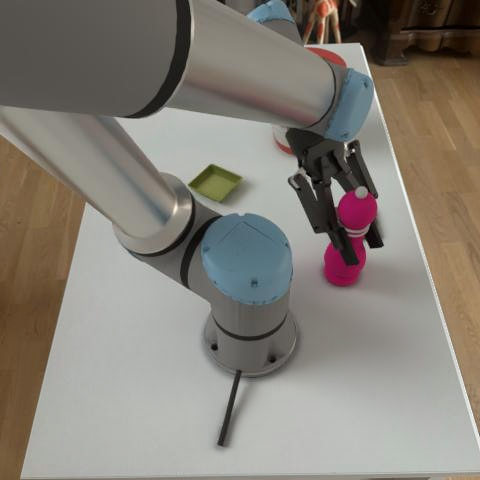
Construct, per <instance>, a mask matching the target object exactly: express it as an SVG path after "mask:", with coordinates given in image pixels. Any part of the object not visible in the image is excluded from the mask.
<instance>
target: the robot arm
mask: <svg viewBox="0 0 480 480" xmlns="http://www.w3.org/2000/svg"><path fill="white" fill-rule="evenodd" d="M295 21H296V20H294V18H293V16H292V14H291V12H290V11H289V8H288V6H287V4H286V3H285V2H284V1H283V0H271V1H269V2H267V3H266V4H262V5H260V6H259V7H257V8H256V9H254V8H253V10H251V11H250V12H249V13H248V14H246V15H244V14H243V13H241V12H239V11H237V10H236V9H233V8H231V7H230V6H227V5H226V4H223V3H222V2H220V1H219V0H0V135H1V136H2V137H3V138H4V139H6V140H7V141H8V142H9V143H11V145H13V146H15V147H16V148H17V149H18V150H20V151H21V152H22V153H23V154H25V155H26V156H27V157H28V158H30V159H31V160H32V161H33V162H35V163H36V164H37V165H39V166H40V168H42V169H43V170H45V171H46V172H48V173H49V174H50V175H52V177H54V178H55V179H56V180H57V181H59V182H61V184H63V185H64V186H65V187H66V188H68V189H69V190H70V191H72V192H73V193H74V194H76V195H77V196H78V197H79V198H81V200H83V201H84V202H86V203H87V204H88V205H89V206H90V207H92V208H93V209H95V210H96V211H97V212H98V213H99V214H100V215H102V216H103V217H104V218H106V219H107V220H108V221H110V222H111V225H112V231H113V233H114V235H115V238H116V240H117V241H118V243H119V245H120V246H121V247H122V248H123V249H124V250H125V251H127V253H128V254H129V255H131V257H133V258H134V259H136V260H138V261H140V262H143V263H145V264H147V265H148V266H149V267H152V268H153V269H155V270H156V271H158V272H159V273H161V274H163V275H165V276H166V277H168V278H169V279H171V280H173V281H174V282H176V283H178V284H179V285H181V286H182V287H184V288H186V289H187V290H189V291H190V292H192V293H194V294H195V295H197V296H199V297H201V298H202V299H204V300H205V301H206V302H208V304H210V308H211V309H210V313H209V314H208V317H207V318H206V319H207V320H206V322H205V324H204V341H205V346H206V350H207V352H208V354H209V356H210V358H211V359H212V361H213V362H214V363H215V364H216V365H217V366H218V367H219V368H220V369H222V370H224V371H225V372H227V373H229V374H230V375H234V378H233V382H232V387H231V391H230V393H229V398H228V402H227V406H226V410H225V415H224V418H223V422H222V426H221V429H220V434H219V436H218V439H217V444H216V445H217V446H219V447H223V446H224V444H225V440H226V437H227V433H228V429H229V425H230V421H231V417H232V414H233V410H234V406H235V401H236V396H237V393H238V389H239V385H240V380H241V378H258V377H264V376H267V375H269V374H272V373H274V372H275V371H278V370H279V369H281V368H282V366H284V365H285V364H286V363H287V362H288V361H289V359H290V358H291V356H292V354H293V352H294V350H295V346H296V341H297V333H298V331H299V330H298V328H297V327H298V326H297V323H296V318H295V316H294V315H292V313H291V311H290V309H289V302H290V294H291V285H292V284H291V283H292V281H293V276H294V263H293V252H292V247H291V243H290V241H289V239H288V237H287V236H286V234H285V233H284V231H283V230H282V229H281V228H280V227H279V226H278V225H277V224H276V223H275V222H273V221H272V220H270V219H268V218H266V217H264V216H262V215H259V214H256V213H251V212H244V214H243V215H240V214H239V213H238V212H234V213H233V212H232V213H229V214H226V215H223V214H221V213H219V212H217V211H215V210H213V209H212V208H210V207H207V205H204V204H203V203H201V202H200V201H199V200H198V199H197V198H196V196H194V194H193V193H192V191H191V190H190V188H189V187H188V186H186V184H185V183H184V182H183V181H182V179H180V178H179V177H177V176H176V175H173V174H171V173H168V172H163V171H160V170H159V169H158V168H157V167H156V166H155V165H154V163H153V162H152V161H151V159H149V157H148V156H147V155H146V154H145V152H144V151H143V150H142V149H141V147H140V146H139V145H138V144H137V143H136V142H135V140H134V139H133V137H131V135H130V134H129V133H128V132H127V131H126V129H125V128H124V127H123V126H122V125H121V123H120V122H119V121H118V119H117V118H120V119H130V120H131V119H132V120H139V119H147V118H149V117H152V116H154V115H156V114H157V113H160V112H161V111H163V109H165V108H167V109H173V110H181V111H188V112H194V113H200V114H206V115H212V116H220V117H225V118H230V119H231V118H232V119H238V120H244V121H251V122H258V123H262V124H263V123H264V124H270V125H271V124H276V125H280V127H281V128H282V129H284V128H286V130H287V132H286V133H285V134H286V135H285V137H286V140H287V142H288V144H289V146H290V148H291V151H292V153H293V154H294V156H295V157H296V159H297V168H298V169H297V170H296V171H295V172H294V174H293V175H291V176H289V177H288V178H287V183H288V185H289V186H290V187H291V188H292V189H293V191H295V193H296V195H297V197H298V200H299V202H300V204H301V206H302V209H303V211H304V213H305V215H306V217H307V220H308V222H309V224H310V226H311V229H312V230H313V233H314V234H316V235H319V234H326V235H327V237H328V238H329V240H330V242H331V243H332V245H333V247H334V249H335V250H339V251H340V254H341V256H342V258H343V260H344V262H345V265H346V266H354V265H358V264H359V263H360V262H359V260H358V257H357V255H356V253H355V250H354V248H353V246H352V244H351V241H350V239H349V237H348V235H347V232H346V230H345V228H344V227H339V225H338V220H337V215H336V211H335V207H336V206H335V202H334V197H333V191H332V188H331V187H332V179H333V180H335V181H336V182H337V183H338V184H339V186H340V187H341V189H342V190H343V192H344V193H345V194H346V193H348V192H350V191H353V190H356V189H357V188H358V187H361V186H363V187H365V188H366V189H367V191H368V192H369V193H370V194H371V195H373V197H374V198H375V200H378V198H379V192H378V190H377V187H376V186H375V183H374V180H373V178H372V176H371V174H370V171H369V169H368V166H367V164H366V162H365V159H364V157H363V155H362V147H361V142H360V140H359V139H354V140H353V138H355V137H356V136H357V135H358V133H359V132H360V131H361V129H362V127H363V126H364V124H365V122H366V120H367V118H368V115H369V113H370V110H371V108H372V104H373V101H374V95H375V84H374V81H373V79H372V78H371V77H370V76H369V75H367V74H364V73H362V72H360V71H358V70H355V68H354V67H347V68H346V67H343V66H340V65H338V64H335V63H332V62H330V61H328V60H327V59H325V58H323V57H321V56H319V55H317V54H316V53H314V52H312V51H310V50H308V49H306V48H305V47H306V46H305V45H304V43H303V39H302V38H301V35H300V32H299V30H298V29H299V28H298V25H297V23H296V22H295ZM293 154H292V155H293ZM344 157H345V158H344ZM309 179H310V182H311V184H310V183H309V181H308V180H309ZM314 192H315V193H314ZM378 222H379V221H378V220H377V216H376V217H375V219H374V220H373V221H372V222H371V223H370V226H369V230H368V231H367V233H366V234H364V236H365V238H366V239H365V240H366V243H367V245H368V247H369V249H370V250H372V249H383V247H385V244H384V240H383V239H382V236H381V233H380V231H379V232H378V230H379V228H378V229H377V227H376V226H378V225H379V223H378Z"/></svg>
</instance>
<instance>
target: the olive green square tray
mask: <svg viewBox="0 0 480 480" xmlns="http://www.w3.org/2000/svg"><path fill="white" fill-rule="evenodd" d="M242 180H243V176H241V175H240V174H237V173H235V172H232V171H230V170H228V169H226V168H223V167H221V166H219V165H217V164H215V163H210V164H209V165H207V166H206V167H205V168H204V169H203V170H202V171H201V172H200V173H198V174H197V175H196V176H195V177H194V178H193V179H192V180H191V181H189V182H188V183H187V186H186V187H187V188H188V189H189V190H192V191H193V192H196V193H197V194H200V195H202V196H204V197H206V198H208V199H210V200H212V201H214V202H216V203H220V202H222V200H224V198H225V197H227V196H228V195H229V194H230V193H231V192H232V191H233V190H234V189H235V187H237V186H238V185H239V184H240V183H241V182H242Z"/></svg>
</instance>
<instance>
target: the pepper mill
mask: <svg viewBox="0 0 480 480" xmlns="http://www.w3.org/2000/svg"><path fill="white" fill-rule="evenodd" d="M337 207H338V208H337V213H338V216H339V218H338V225H339V227H344V228H345V230H346V232H347V235H348V237H349V239H350V241H351V244H352V246H353V248H354V250H355V253H356V255H357V257H358V260H359V262H360V263H359V264H358V265H354V266H346V265H345V262H344V260H343V258H342V256H341V254H340V251H339V250H335V249H334V247H333V245H332V243H331V241H330V242H329V243H328V244H327V247H326V249H325V251H324V255H323V262H324V269H323V275H324V278H325V279H326V280H327V281H328V282H329V283H330V284H332V285H334V286H337V287H348V286H351V285H353V284H354V283H356V281H357V280H358V279H359V275H360V272H361V271H362V270H363V269H364V267H365V265H366V263H367V262H366V261H367V251H366V247H365V244H364V239H363V236H364V234H366V233H367V231H368V230H369V226H370V223H371V222H372V221H373V220H374V219H375V217H376V218H377V214H378V207H379V206H378V202H377V199H375V198H374V197H373V195H371V194H370V193H369V192H368V191H367V189H366V188H365V187H363V186H361V187H358V188H357V189H356V190H353V191H350V192H348V193H345V194H343V196H342V197H341V198H340V199H339V201H338V204H337Z"/></svg>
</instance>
